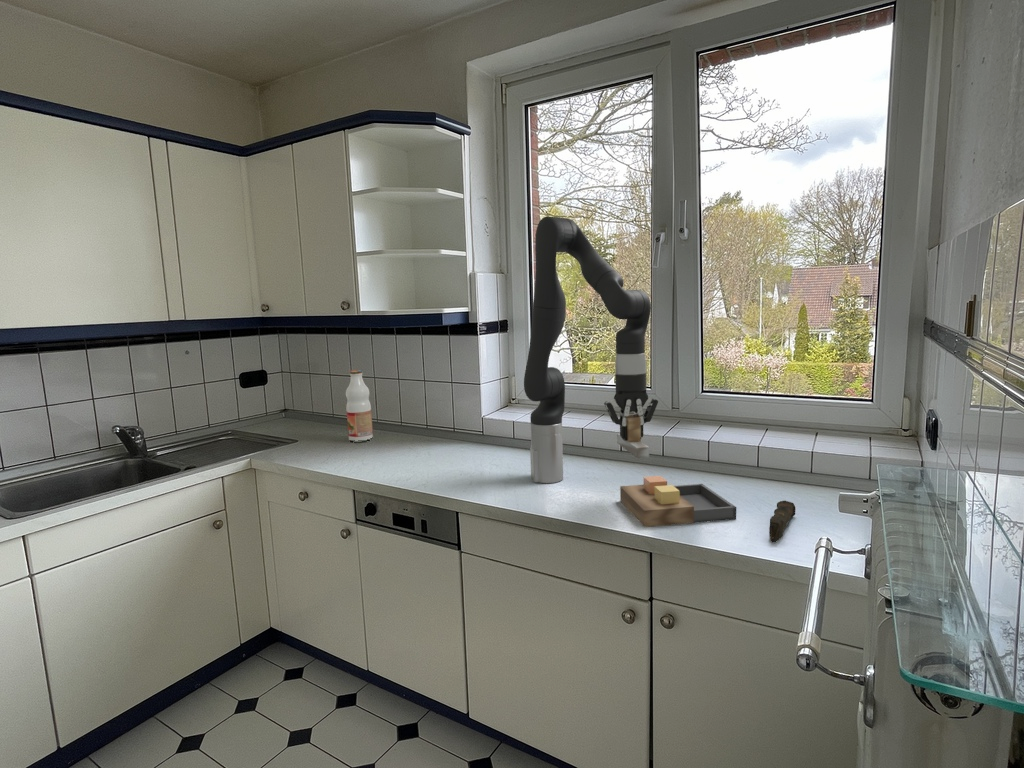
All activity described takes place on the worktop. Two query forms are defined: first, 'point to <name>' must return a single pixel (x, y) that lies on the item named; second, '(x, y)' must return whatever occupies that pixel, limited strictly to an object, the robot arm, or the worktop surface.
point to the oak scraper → (634, 438)
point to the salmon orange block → (653, 483)
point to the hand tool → (780, 519)
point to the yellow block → (666, 494)
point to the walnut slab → (655, 508)
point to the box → (707, 503)
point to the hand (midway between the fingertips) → (631, 439)
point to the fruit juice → (358, 408)
